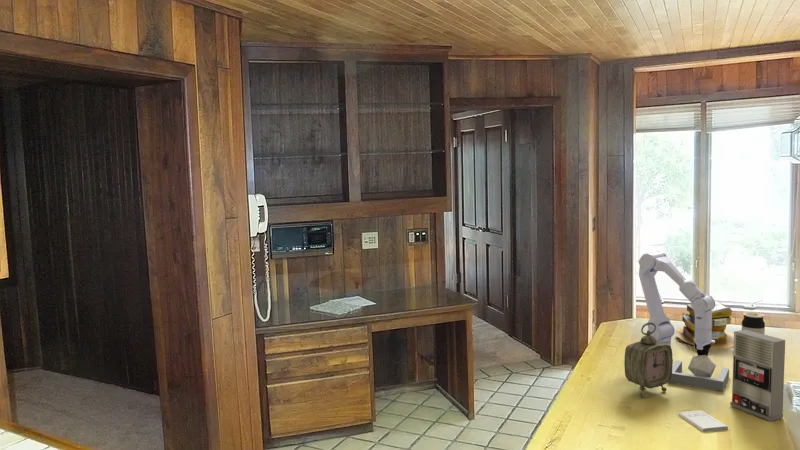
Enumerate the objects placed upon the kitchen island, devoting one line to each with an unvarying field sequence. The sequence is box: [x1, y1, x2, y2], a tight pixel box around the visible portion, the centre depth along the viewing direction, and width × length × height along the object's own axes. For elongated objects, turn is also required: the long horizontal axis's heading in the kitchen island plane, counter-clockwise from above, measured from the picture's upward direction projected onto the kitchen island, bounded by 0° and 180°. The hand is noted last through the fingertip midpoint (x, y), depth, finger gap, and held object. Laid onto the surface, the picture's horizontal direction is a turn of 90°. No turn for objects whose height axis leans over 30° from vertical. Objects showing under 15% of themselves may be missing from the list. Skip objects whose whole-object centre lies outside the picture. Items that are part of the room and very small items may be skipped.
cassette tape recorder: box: [729, 329, 786, 422], centre depth 193 cm, size 14×6×25 cm, turn 23°
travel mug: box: [741, 311, 766, 335], centre depth 245 cm, size 8×8×18 cm
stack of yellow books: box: [675, 300, 734, 349], centre depth 271 cm, size 25×25×17 cm
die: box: [687, 355, 717, 378], centre depth 226 cm, size 8×9×10 cm
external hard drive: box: [678, 409, 729, 433], centre depth 189 cm, size 2×8×12 cm
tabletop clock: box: [623, 322, 674, 399], centre depth 212 cm, size 14×9×25 cm, turn 117°
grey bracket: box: [668, 360, 730, 392], centre depth 224 cm, size 18×16×4 cm
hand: (702, 363), depth 230 cm, fingers closed, pressing on die
